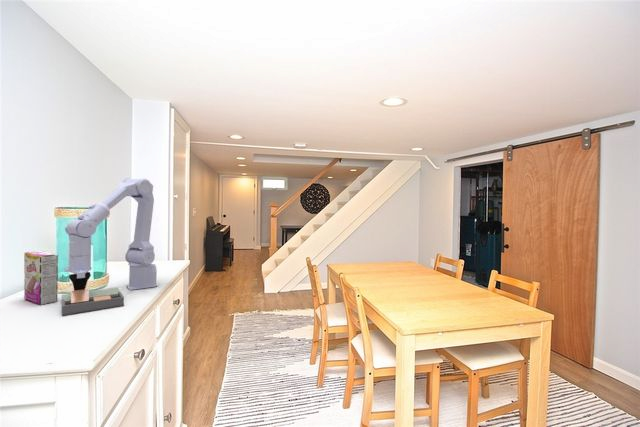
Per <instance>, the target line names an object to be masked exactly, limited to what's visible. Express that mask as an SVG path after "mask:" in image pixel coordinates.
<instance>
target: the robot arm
mask: <svg viewBox="0 0 640 427" xmlns="http://www.w3.org/2000/svg"><path fill="white" fill-rule="evenodd" d="M153 190H154V185H153V184H152V183H151V181H150V180H149V179H147V178H124V179H123V180H122V181H121V182H119V183H118V184H117V187H116V188H115V189H114V190H113V191H112V192H111V193H110V194H109V195H108V196H107V197H106V198H104V200H102V201H101V203H100V202H99V203H97V202H95V203H94V204H93V203H92V204H90V205H89V206H88V209H87V210H86V211H84V212H83V213H82V214H79V215H78V216H77V218H76V219H72V220H71V221H69V222H68V223H67V224H66V225H67V226H66V227H64V230H65V233H66V234H67V235H68V240H69V241H68V244H69V245H68V268H64V270H63V272H64V273H69V274H68V277H69V280H70V281H71V284H72V287H73V291H76V290H84V289H87V288H86V287H87V284H88V281H89V280H90V278H91V276H92V274H91V272H90V271H91V270H92V266H91V265H92V235H94V234H95V233H96V231H97V227H98V226H99V225H100V224H101V223H103V221H104V220H105V219H106V218H108V217H109V216H110V213H111V211H110V210H111V209H112V208H113V207H115V206H116V205H117V204H119V203H120V202H121V201H122V200H124V199H125V198H126V197H131V198H133V199H134V200H135V201H136V203H137V209H136V210H137V211H136V219H135V225H134V226H135V228H134V233H133V234H134V236H133V241H132V242H131V243H129V245H128V249H127V250H126V253H125V256H124V259H125V261H126V262H127V263H128V266H129V267H128V268H129V275H128V284H126V286H125V287H126V288H128V290H129V291H133V290H143V289H149V288H156V287H157V277H158V276H157V275H158V274H157V272H158V271H157V269H158V268H157V266H156V264H155V263H154V261H155V257H156V255H155V249H154V248H155V247H154V245H153V244H152V243H151V242H150V239H151V230H152V222H153V221H152V219H153V211H154V202H155V198H154V194H153V192H154V191H153Z"/></svg>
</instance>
